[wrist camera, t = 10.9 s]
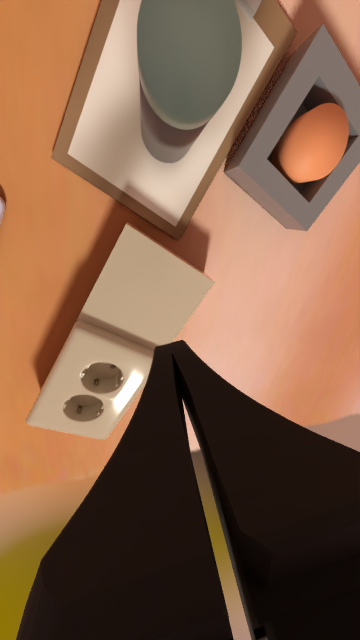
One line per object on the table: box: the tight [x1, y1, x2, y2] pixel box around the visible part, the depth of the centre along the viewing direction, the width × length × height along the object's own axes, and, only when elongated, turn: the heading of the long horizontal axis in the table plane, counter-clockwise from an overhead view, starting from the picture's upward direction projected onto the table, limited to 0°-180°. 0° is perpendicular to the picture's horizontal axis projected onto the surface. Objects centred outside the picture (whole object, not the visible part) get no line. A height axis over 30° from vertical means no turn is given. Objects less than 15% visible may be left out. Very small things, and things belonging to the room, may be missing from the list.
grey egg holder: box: [224, 24, 360, 231], centre depth 14 cm, size 7×7×2 cm
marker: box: [137, 0, 242, 163], centre depth 10 cm, size 3×3×7 cm
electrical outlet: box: [26, 222, 215, 440], centre depth 18 cm, size 7×4×18 cm
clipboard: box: [51, 0, 297, 240], centre depth 12 cm, size 9×13×1 cm
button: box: [272, 103, 349, 184], centre depth 13 cm, size 4×4×2 cm
